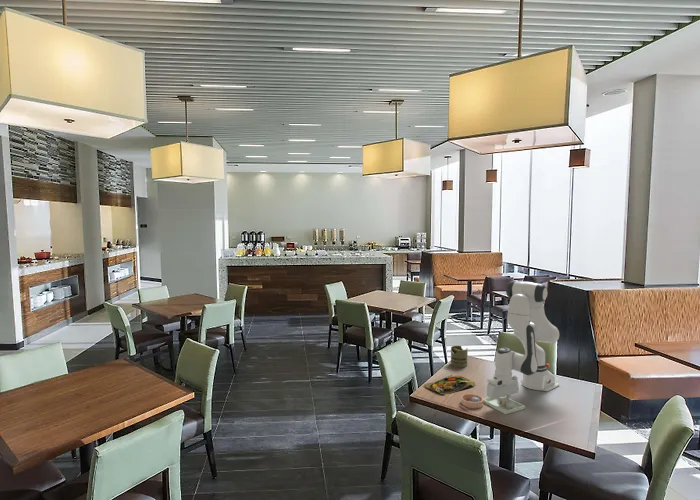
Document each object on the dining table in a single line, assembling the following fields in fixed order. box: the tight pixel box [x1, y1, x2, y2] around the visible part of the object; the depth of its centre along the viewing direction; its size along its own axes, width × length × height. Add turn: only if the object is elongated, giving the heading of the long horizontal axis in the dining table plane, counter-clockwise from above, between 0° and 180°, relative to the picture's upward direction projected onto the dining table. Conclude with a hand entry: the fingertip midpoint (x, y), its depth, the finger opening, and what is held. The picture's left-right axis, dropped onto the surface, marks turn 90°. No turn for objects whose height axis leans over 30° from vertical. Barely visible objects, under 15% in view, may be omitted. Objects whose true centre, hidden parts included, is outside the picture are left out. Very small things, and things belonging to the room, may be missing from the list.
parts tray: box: [482, 396, 526, 415], centre depth 221 cm, size 14×17×2 cm
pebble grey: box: [506, 400, 514, 410], centre depth 217 cm, size 4×4×4 cm
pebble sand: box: [500, 397, 507, 407], centre depth 221 cm, size 4×4×4 cm
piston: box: [450, 345, 469, 369], centre depth 287 cm, size 11×12×11 cm
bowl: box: [460, 393, 485, 409], centre depth 224 cm, size 12×12×4 cm
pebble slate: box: [472, 397, 479, 402], centre depth 221 cm, size 4×4×4 cm
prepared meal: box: [423, 374, 476, 397], centre depth 249 cm, size 28×4×18 cm
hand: (502, 403), depth 221 cm, fingers closed on pebble sand, 4 cm apart
